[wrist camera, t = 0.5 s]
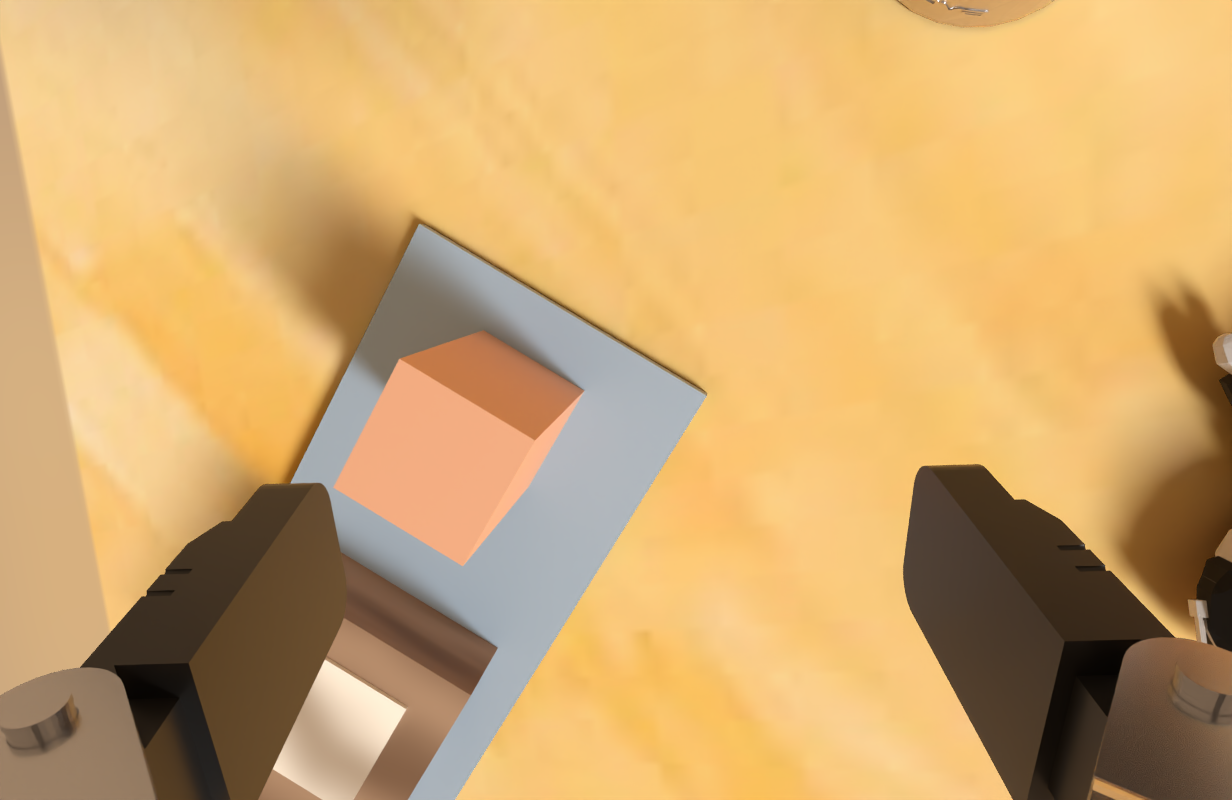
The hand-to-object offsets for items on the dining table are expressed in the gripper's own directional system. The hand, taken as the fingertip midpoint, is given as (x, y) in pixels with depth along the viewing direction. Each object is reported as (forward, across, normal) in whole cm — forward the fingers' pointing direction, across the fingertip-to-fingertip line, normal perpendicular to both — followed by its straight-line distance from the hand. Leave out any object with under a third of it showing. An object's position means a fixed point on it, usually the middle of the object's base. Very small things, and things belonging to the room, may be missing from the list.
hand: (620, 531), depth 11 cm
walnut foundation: (+20, +13, +20) cm, 32 cm away
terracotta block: (+22, +5, +8) cm, 24 cm away
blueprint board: (+22, +9, +15) cm, 28 cm away
